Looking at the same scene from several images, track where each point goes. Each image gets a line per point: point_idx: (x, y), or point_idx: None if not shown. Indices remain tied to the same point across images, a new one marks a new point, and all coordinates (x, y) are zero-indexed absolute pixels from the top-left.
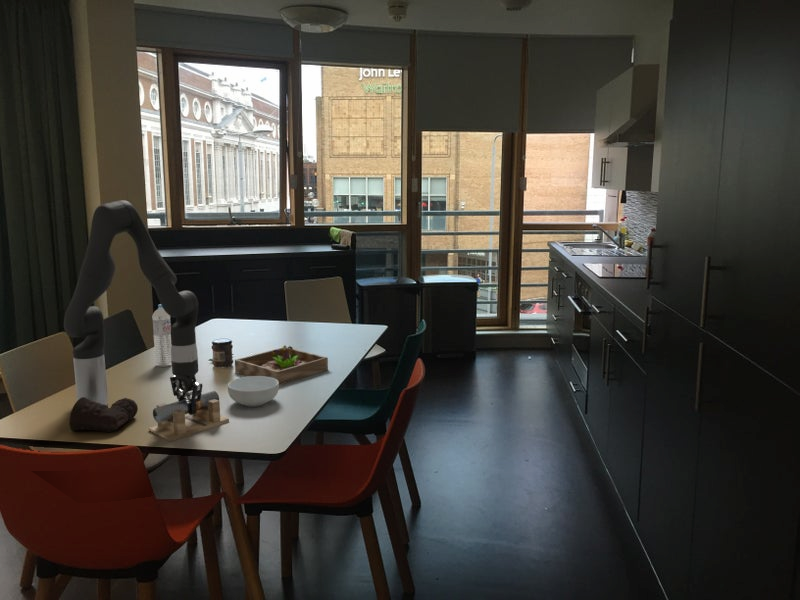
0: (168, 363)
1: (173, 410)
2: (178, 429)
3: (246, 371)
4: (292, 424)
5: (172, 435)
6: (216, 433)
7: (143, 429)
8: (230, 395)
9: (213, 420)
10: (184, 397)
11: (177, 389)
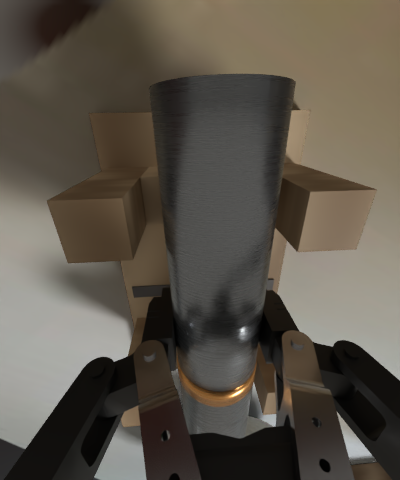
0: None
1: (166, 224)
2: (99, 174)
3: (377, 476)
4: (8, 423)
5: (120, 142)
6: (66, 286)
7: (345, 106)
8: (246, 434)
9: (137, 325)
10: (273, 363)
11: (318, 419)
